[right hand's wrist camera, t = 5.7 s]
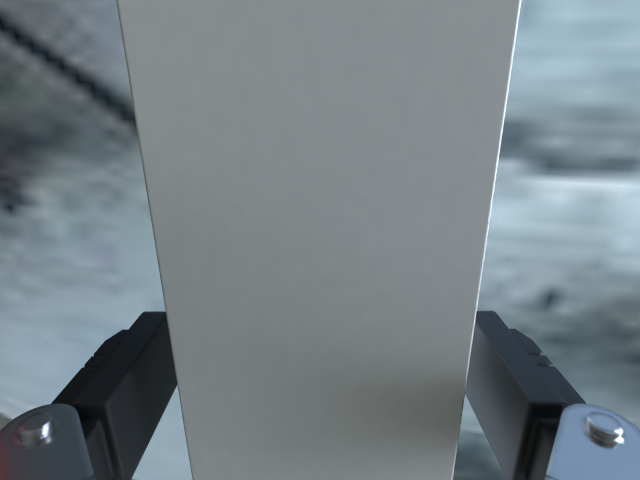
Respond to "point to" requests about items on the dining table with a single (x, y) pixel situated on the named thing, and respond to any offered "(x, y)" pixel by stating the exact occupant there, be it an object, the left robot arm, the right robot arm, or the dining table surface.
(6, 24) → the dining table surface
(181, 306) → the box
